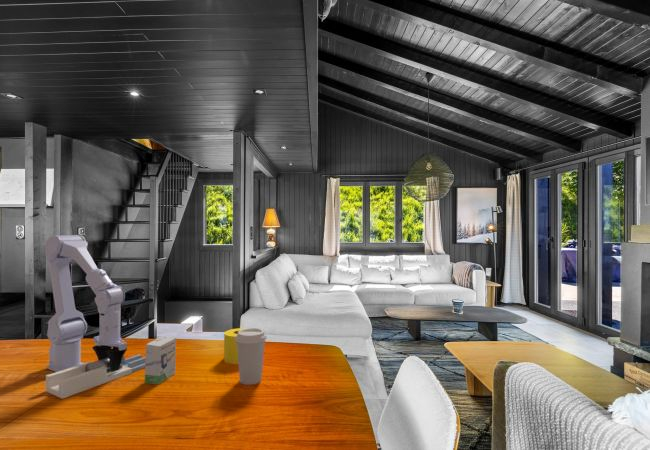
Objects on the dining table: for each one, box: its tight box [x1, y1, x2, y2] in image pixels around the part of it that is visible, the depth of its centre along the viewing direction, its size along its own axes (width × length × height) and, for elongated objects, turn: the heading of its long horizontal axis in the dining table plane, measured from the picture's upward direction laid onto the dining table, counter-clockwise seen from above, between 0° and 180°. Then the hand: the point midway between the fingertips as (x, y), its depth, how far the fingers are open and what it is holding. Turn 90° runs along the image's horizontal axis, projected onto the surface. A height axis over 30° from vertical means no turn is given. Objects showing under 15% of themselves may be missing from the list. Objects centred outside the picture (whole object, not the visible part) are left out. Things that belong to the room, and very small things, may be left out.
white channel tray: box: [45, 361, 133, 400], centre depth 110 cm, size 9×20×4 cm, turn 151°
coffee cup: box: [235, 327, 267, 386], centre depth 112 cm, size 10×10×15 cm
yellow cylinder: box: [223, 327, 246, 365], centre depth 130 cm, size 10×10×9 cm
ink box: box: [144, 336, 177, 386], centre depth 113 cm, size 9×5×12 cm, turn 168°
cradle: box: [124, 353, 146, 373], centre depth 122 cm, size 8×7×2 cm
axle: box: [85, 354, 126, 372], centre depth 114 cm, size 10×4×4 cm, turn 149°
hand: (109, 368), depth 115 cm, fingers open, 5 cm apart
